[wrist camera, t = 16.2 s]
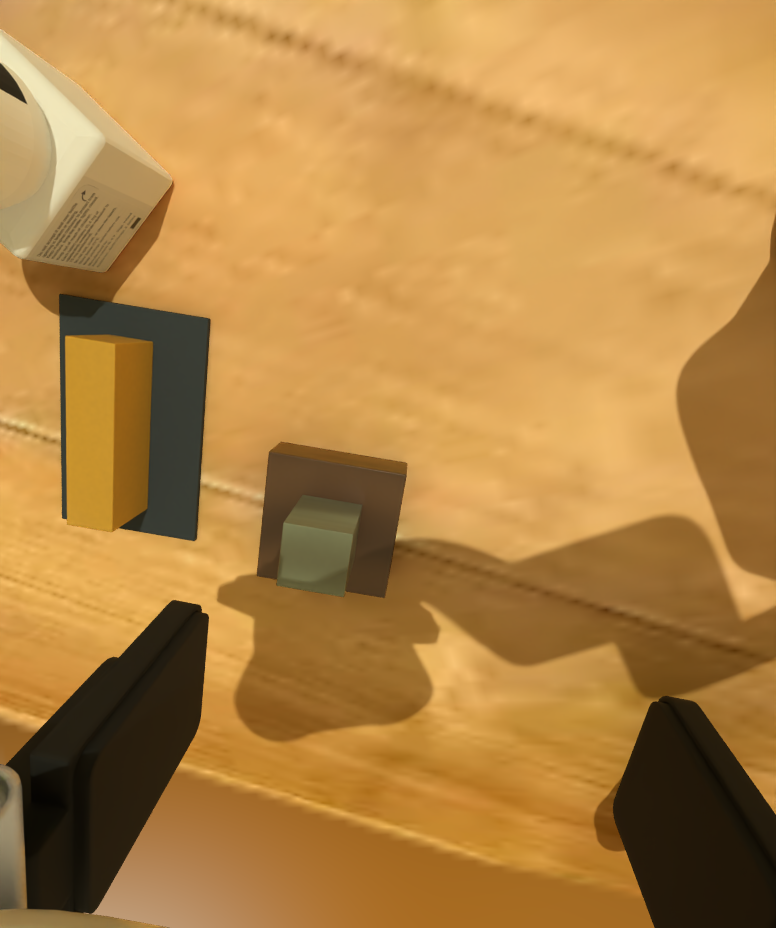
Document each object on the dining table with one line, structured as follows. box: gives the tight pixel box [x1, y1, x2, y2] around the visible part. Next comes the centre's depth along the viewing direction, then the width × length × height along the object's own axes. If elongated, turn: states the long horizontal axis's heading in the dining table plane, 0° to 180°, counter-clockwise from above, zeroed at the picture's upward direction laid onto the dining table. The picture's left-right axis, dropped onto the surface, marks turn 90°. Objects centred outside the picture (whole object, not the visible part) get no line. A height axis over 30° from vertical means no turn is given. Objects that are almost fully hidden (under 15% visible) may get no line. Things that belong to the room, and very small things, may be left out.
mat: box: [59, 294, 210, 541], centre depth 36 cm, size 16×10×1 cm, turn 171°
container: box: [0, 29, 173, 272], centre depth 26 cm, size 8×8×13 cm
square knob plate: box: [257, 442, 407, 598], centre depth 33 cm, size 9×9×8 cm
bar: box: [65, 335, 153, 532], centre depth 33 cm, size 12×3×4 cm, turn 171°
